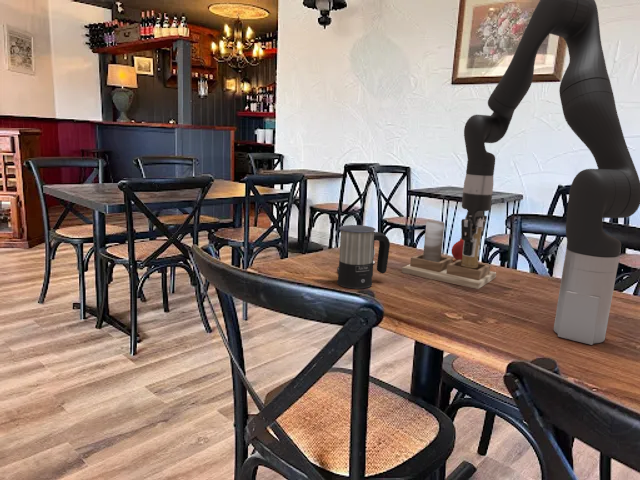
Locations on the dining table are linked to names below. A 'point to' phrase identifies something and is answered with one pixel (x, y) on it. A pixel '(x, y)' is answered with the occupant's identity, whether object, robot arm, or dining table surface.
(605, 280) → the robot arm
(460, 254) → the onion
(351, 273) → the milk frother
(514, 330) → the dining table surface
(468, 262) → the sprinkles bottle
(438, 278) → the wooden condiment tray
